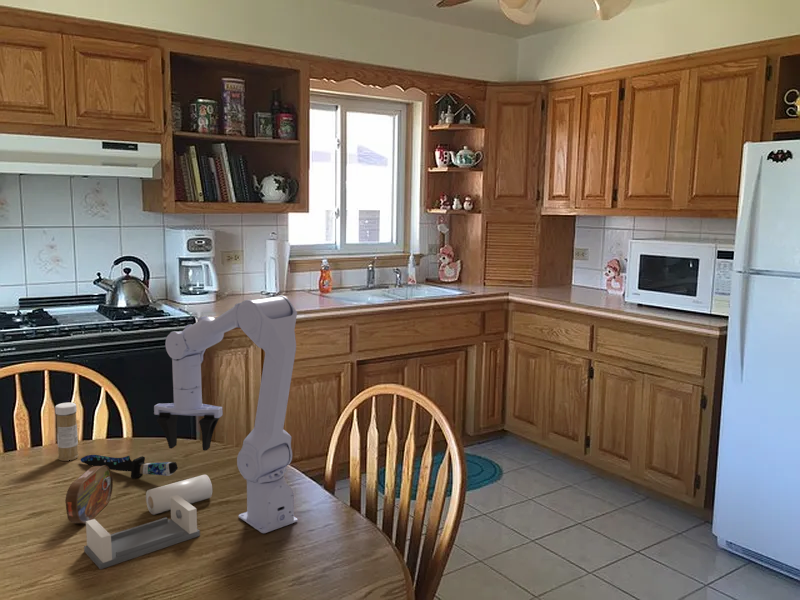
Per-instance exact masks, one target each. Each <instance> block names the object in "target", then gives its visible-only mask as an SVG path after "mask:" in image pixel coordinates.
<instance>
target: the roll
mask: <svg viewBox="0 0 800 600" xmlns="http://www.w3.org/2000/svg"><path fill="white" fill-rule="evenodd" d="M175 495H179V496H180V497H181V498H183V499H184V500H185V501H187V502H188V503H190V504H191V505H192V504H194V503H197V502H201V501H204V500H207V499H210V498H212V496H213V485H212V481H211V479H210V477H209V475H207V474H202V475H201V474H200V475H197V476H195V477H194V476H193V477H190V478H187V479H184V480H183V479H182V480H179V481H176V482H172V483H169V484H166V485H162V486H158V487H154V488H150V489H147V491H146V493H145V502H146V506H147V510H148V511H149V513H150V514H151V515H152V516H154V515H157V514H161V513H165V512H168V511H171V504H170V497H172V496H175Z"/></svg>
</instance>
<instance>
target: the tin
mask: <svg viewBox="0 0 800 600" xmlns="http://www.w3.org/2000/svg"><path fill="white" fill-rule="evenodd" d="M113 481H114V480H113V473H112V470H110V469H109V467H108V466H106V465H103V466H90V468H88V469H87V470H85V472H83V473H82V474H81V475H80V476H79V477H78V478H77V479H75V480H74V481H73V482H72V483H71V484H70V485H69V487H68V489H67V492H66V496H65V501H64V502H65V511H66V515H67V516H66V517H67V520H68V521H69V522H70V523H72V524H85V525H86V521H89V520H92V519H95V517H96V516H97V515H98V514H99V513H100V512H101V511H102V510H103V509H104V508H105V507H106V506H108V504H109V502H110V500H111V497H112V493H113V488H114V487H113V486H114V485H113V484H114V482H113Z"/></svg>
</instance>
